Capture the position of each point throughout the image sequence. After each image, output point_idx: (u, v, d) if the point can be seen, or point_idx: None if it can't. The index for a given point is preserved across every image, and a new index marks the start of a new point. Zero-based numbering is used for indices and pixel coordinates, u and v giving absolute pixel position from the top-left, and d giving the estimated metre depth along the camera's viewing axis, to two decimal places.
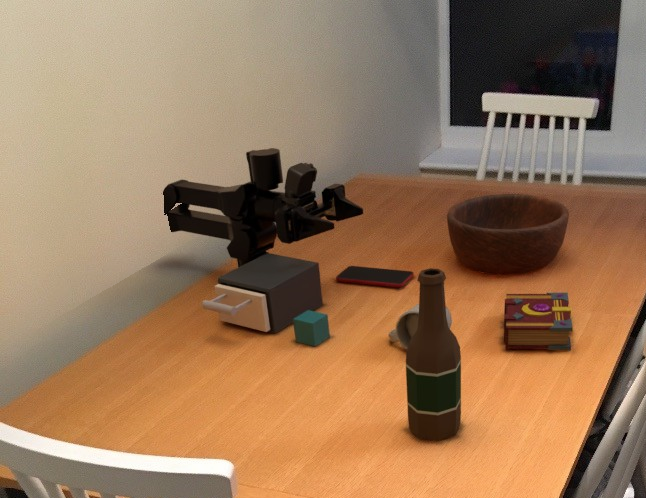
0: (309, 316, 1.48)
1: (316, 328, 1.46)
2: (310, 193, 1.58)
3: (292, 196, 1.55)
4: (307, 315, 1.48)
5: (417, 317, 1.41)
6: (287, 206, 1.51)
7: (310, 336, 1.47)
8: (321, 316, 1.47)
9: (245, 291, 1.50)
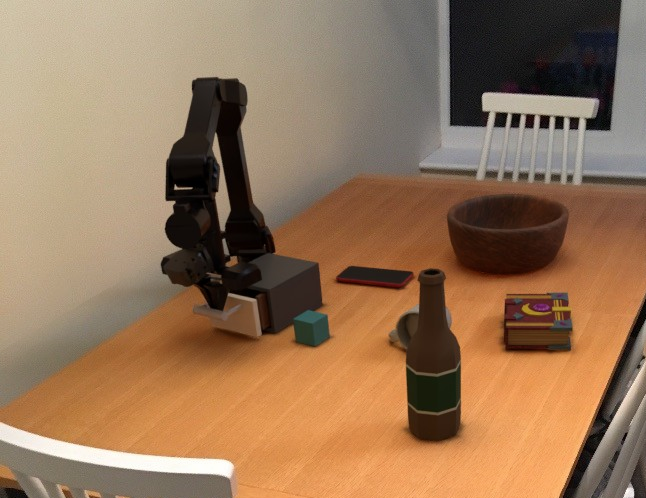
0: (309, 316, 1.48)
1: (316, 328, 1.46)
2: None
3: None
4: (307, 315, 1.48)
5: (417, 317, 1.41)
6: None
7: (310, 336, 1.47)
8: (321, 316, 1.47)
9: (236, 296, 1.49)
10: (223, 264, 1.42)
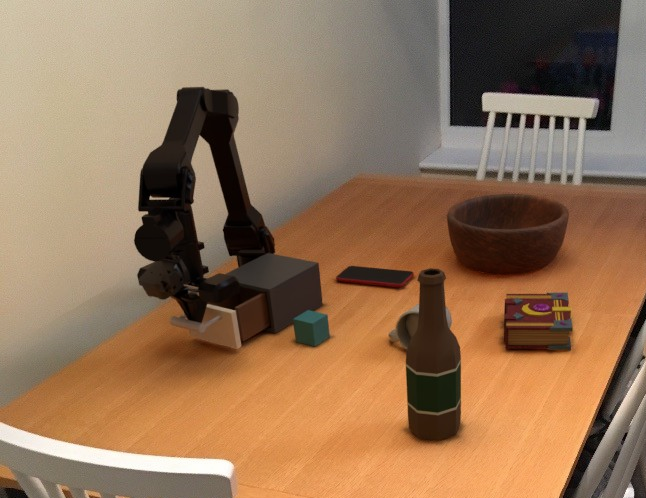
0: (309, 316, 1.48)
1: (316, 328, 1.46)
2: None
3: None
4: (307, 315, 1.48)
5: (417, 317, 1.41)
6: None
7: (310, 336, 1.47)
8: (321, 316, 1.47)
9: (215, 307, 1.45)
10: (201, 276, 1.38)
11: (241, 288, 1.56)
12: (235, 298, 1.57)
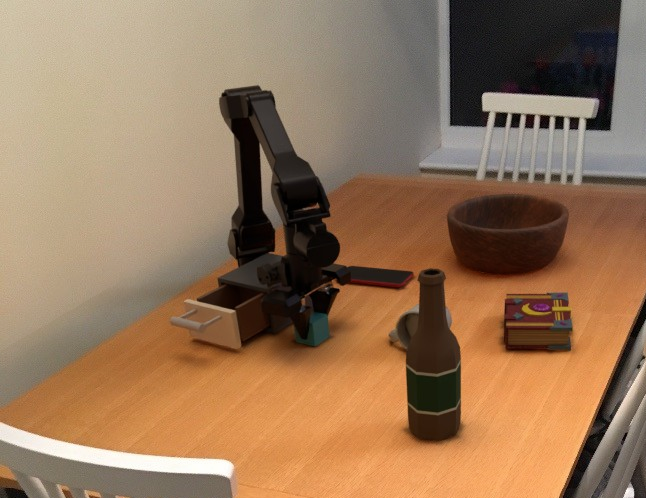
0: None
1: (316, 328, 1.46)
2: None
3: None
4: None
5: (417, 317, 1.41)
6: None
7: (310, 336, 1.47)
8: (321, 316, 1.47)
9: (215, 307, 1.45)
10: (299, 288, 1.42)
11: (241, 288, 1.56)
12: (235, 298, 1.57)
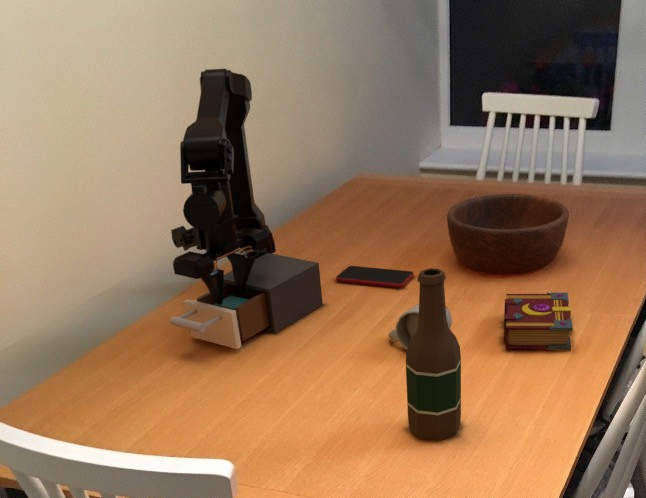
0: (230, 301, 1.50)
1: None
2: None
3: None
4: (229, 300, 1.50)
5: (417, 317, 1.41)
6: None
7: None
8: (242, 301, 1.50)
9: (215, 307, 1.45)
10: (213, 251, 1.42)
11: None
12: None
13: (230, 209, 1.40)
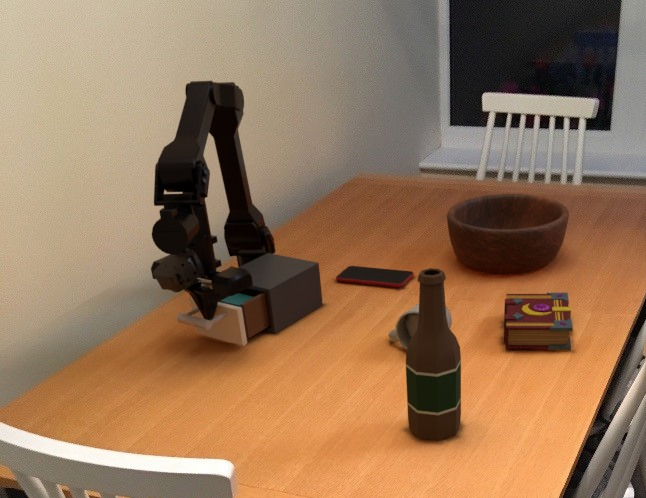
0: (236, 298, 1.51)
1: None
2: None
3: None
4: (235, 297, 1.51)
5: (417, 317, 1.41)
6: None
7: None
8: (248, 298, 1.51)
9: (221, 304, 1.46)
10: (214, 269, 1.40)
11: None
12: None
13: (206, 232, 1.37)
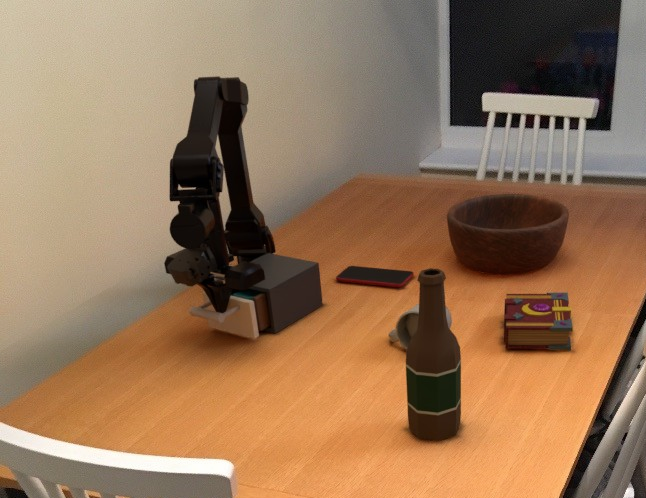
0: (248, 292, 1.53)
1: None
2: None
3: None
4: (246, 291, 1.54)
5: (417, 317, 1.41)
6: None
7: None
8: (259, 292, 1.53)
9: (233, 297, 1.48)
10: (226, 264, 1.42)
11: None
12: None
13: (220, 226, 1.39)
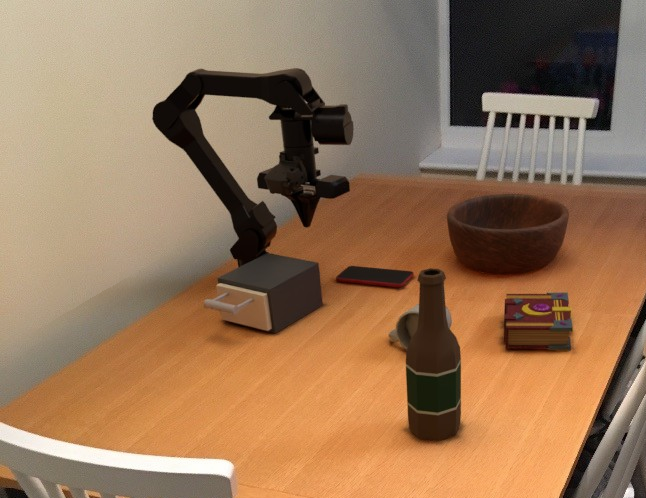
0: None
1: None
2: None
3: None
4: None
5: (417, 317, 1.41)
6: (265, 183, 1.61)
7: None
8: None
9: (247, 290, 1.51)
10: (315, 177, 1.59)
11: None
12: None
13: None
